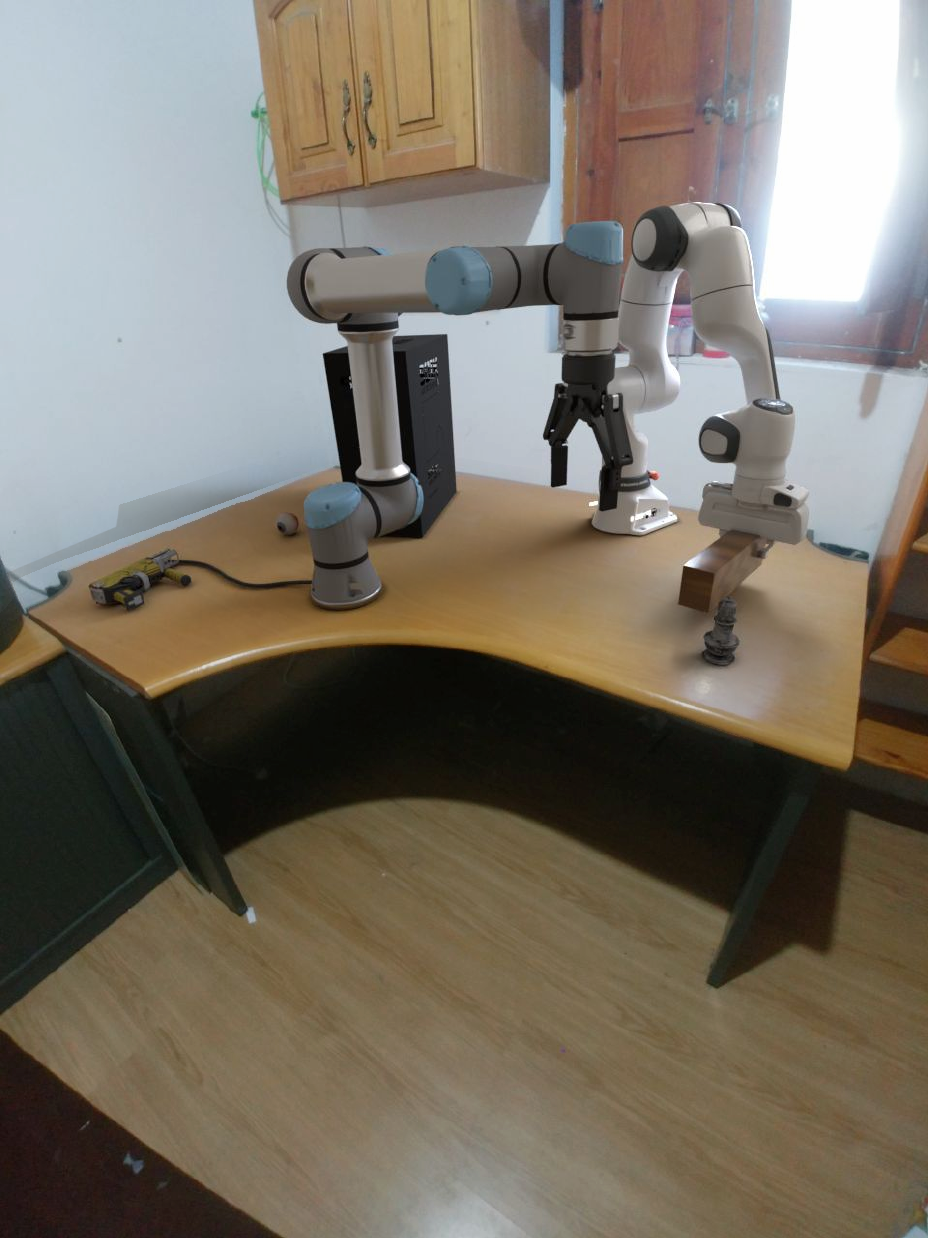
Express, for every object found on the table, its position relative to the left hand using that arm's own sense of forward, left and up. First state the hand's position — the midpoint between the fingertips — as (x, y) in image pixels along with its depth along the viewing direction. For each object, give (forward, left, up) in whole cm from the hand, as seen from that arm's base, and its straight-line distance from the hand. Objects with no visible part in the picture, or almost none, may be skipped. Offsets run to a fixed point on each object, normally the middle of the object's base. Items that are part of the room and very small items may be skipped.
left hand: (581, 497), depth 96 cm
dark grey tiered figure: (+24, +4, -28) cm, 37 cm away
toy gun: (-97, -6, -28) cm, 101 cm away
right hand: (+26, +34, -21) cm, 48 cm away
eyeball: (-87, +30, -28) cm, 96 cm away
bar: (+23, +25, -24) cm, 42 cm away
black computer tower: (-63, +55, -28) cm, 88 cm away
